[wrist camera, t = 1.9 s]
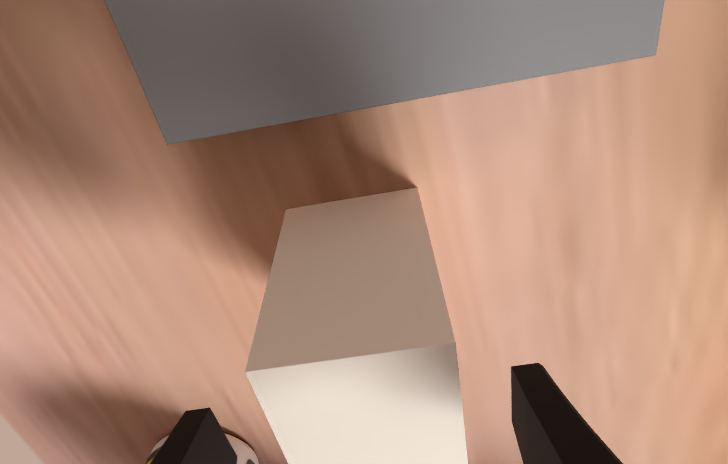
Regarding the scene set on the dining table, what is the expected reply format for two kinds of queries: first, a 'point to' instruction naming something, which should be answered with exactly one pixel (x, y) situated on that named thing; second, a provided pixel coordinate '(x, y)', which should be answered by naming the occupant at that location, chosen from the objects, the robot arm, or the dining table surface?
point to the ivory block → (358, 338)
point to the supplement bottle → (245, 454)
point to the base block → (356, 52)
